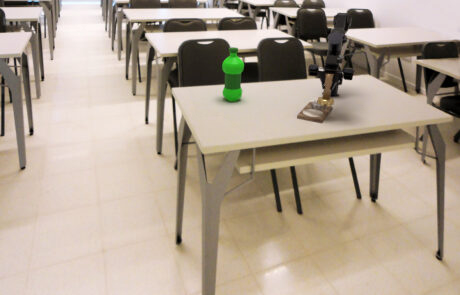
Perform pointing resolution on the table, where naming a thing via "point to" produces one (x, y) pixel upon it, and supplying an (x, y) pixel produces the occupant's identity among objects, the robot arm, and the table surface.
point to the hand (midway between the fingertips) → (327, 89)
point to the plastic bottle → (232, 75)
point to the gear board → (314, 112)
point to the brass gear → (327, 91)
